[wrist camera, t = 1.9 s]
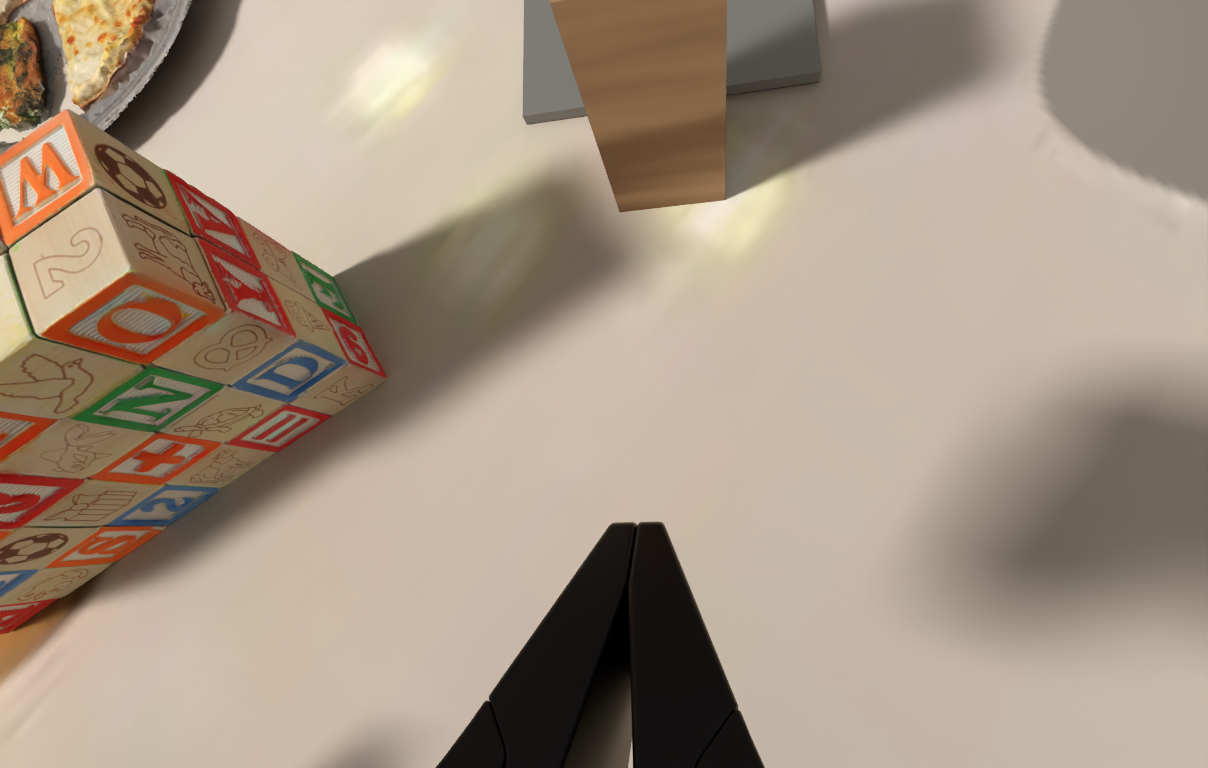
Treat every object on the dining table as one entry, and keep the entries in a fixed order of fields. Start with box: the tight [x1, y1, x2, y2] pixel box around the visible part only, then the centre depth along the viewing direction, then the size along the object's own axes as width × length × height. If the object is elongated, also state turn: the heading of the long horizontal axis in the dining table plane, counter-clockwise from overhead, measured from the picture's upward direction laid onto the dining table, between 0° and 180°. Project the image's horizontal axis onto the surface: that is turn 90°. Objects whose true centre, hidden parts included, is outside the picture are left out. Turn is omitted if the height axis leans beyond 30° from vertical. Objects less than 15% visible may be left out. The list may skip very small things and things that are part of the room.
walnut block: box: [550, 0, 727, 212], centre depth 21 cm, size 4×4×11 cm
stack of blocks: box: [0, 109, 387, 634], centre depth 22 cm, size 21×6×12 cm, turn 123°
